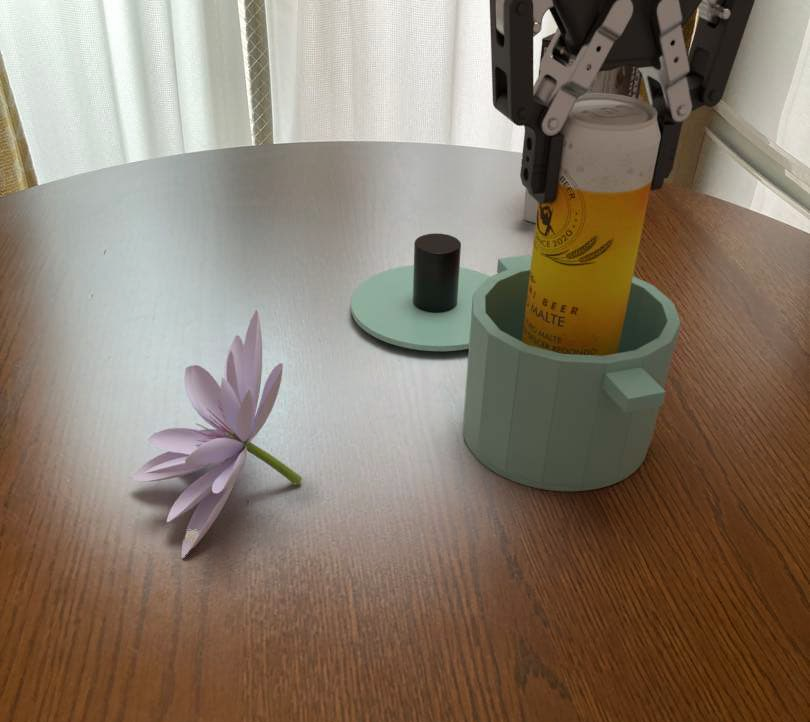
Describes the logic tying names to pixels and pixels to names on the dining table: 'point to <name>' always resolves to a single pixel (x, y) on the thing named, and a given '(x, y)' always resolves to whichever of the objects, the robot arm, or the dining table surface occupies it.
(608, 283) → the beer can
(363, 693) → the dining table surface
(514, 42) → the robot arm
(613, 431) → the pot
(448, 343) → the lid
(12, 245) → the dining table surface
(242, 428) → the water lily
